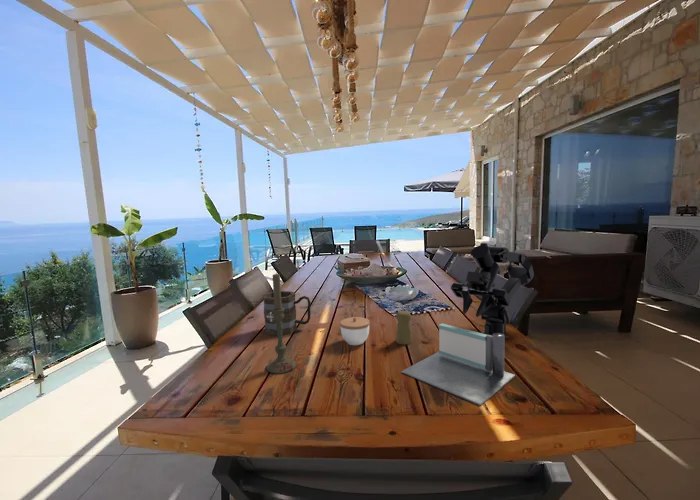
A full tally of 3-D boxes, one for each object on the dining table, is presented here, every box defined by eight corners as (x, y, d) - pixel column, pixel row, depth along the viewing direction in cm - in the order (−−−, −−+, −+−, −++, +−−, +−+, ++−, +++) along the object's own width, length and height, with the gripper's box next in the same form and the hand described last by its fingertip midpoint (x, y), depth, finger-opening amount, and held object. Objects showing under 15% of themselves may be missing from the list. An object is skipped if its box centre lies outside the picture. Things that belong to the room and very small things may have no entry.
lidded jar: (373, 338, 125) (372, 313, 124) (365, 349, 115) (364, 323, 114) (346, 335, 128) (345, 312, 127) (336, 346, 118) (335, 320, 117)
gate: (493, 369, 95) (493, 335, 94) (490, 371, 94) (490, 337, 93) (442, 352, 107) (442, 322, 106) (438, 354, 106) (438, 324, 105)
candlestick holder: (270, 376, 98) (264, 276, 94) (263, 364, 106) (257, 271, 102) (300, 369, 102) (295, 272, 98) (291, 358, 110) (286, 268, 107)
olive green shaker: (412, 344, 117) (411, 314, 116) (395, 344, 118) (394, 314, 117) (412, 338, 123) (412, 309, 122) (396, 337, 124) (395, 309, 123)
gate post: (515, 376, 92) (515, 334, 91) (480, 405, 79) (480, 357, 78) (440, 352, 110) (440, 317, 109) (401, 372, 97) (401, 333, 96)
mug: (260, 336, 131) (257, 299, 129) (268, 325, 144) (266, 291, 143) (309, 334, 131) (308, 297, 129) (313, 323, 144) (312, 289, 142)
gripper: (453, 259, 117) (435, 296, 111) (507, 264, 103) (490, 306, 97) (464, 278, 123) (448, 314, 117) (517, 285, 109) (501, 326, 103)
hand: (470, 314), depth 108 cm, fingers open, 4 cm apart
